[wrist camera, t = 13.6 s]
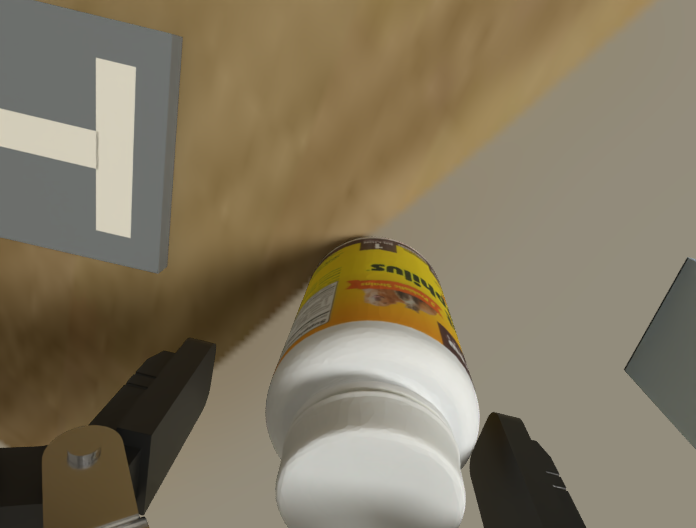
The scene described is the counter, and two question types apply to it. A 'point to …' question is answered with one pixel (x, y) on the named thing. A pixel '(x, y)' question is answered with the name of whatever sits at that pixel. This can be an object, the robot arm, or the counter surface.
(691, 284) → the blue block
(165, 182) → the board
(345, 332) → the supplement bottle
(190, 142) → the counter surface
